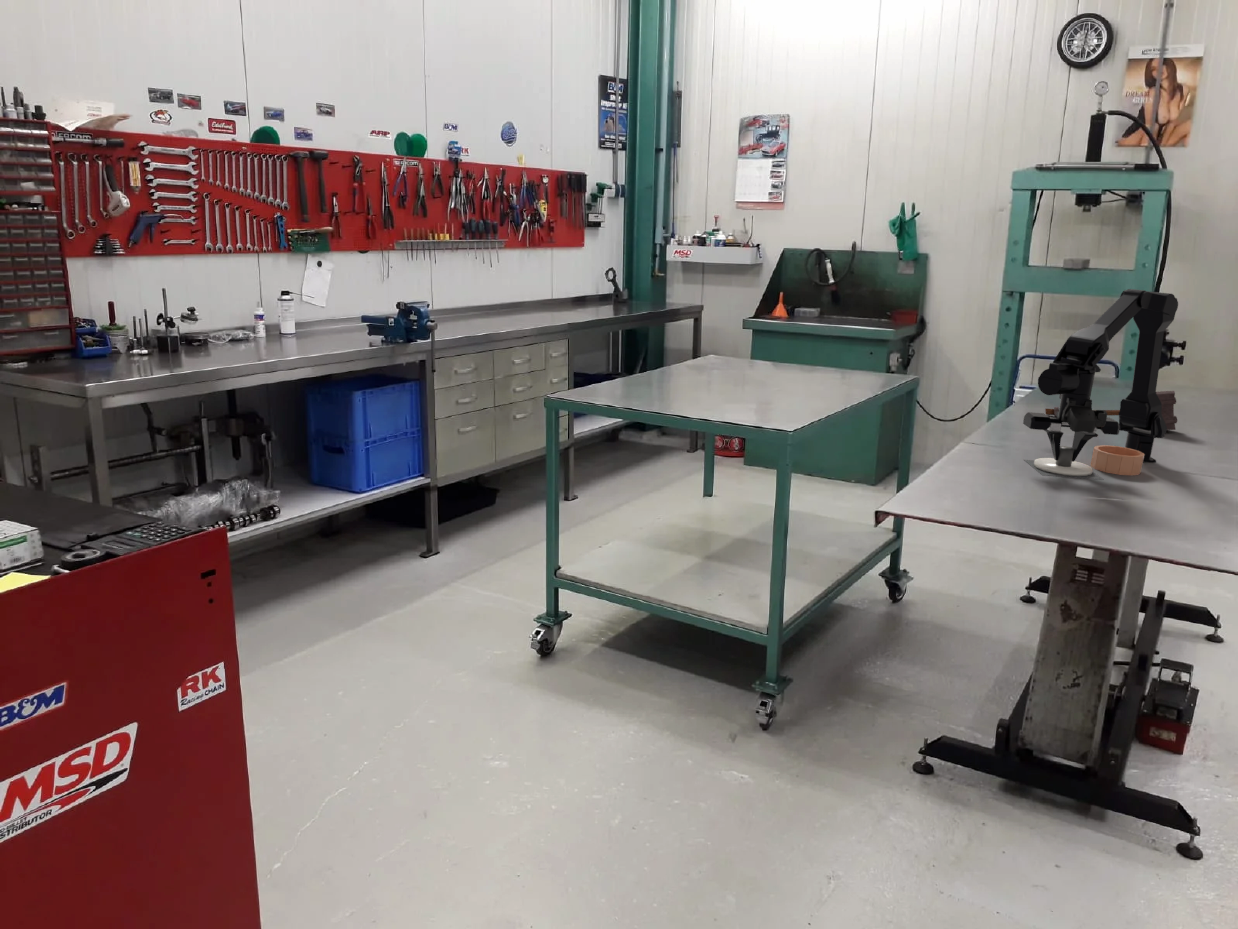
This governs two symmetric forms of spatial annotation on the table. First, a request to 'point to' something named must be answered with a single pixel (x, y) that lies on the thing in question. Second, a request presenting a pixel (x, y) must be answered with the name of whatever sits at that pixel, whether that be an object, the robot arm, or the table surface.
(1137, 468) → the bowl
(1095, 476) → the mat
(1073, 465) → the lid
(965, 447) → the table surface
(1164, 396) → the hammer
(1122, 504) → the table surface
